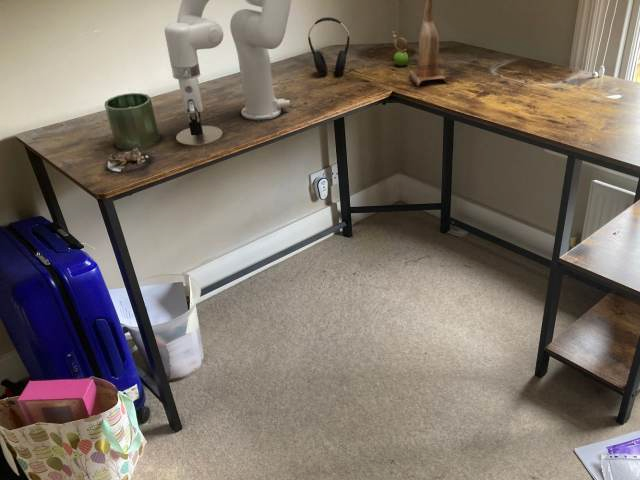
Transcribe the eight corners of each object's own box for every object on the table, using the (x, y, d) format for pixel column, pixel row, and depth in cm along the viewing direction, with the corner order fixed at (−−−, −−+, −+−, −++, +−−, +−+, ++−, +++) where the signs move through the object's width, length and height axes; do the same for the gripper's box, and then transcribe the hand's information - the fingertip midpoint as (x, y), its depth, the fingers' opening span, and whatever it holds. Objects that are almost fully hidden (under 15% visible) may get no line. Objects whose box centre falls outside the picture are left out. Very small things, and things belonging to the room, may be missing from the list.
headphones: (351, 77, 235) (348, 20, 223) (310, 78, 235) (305, 21, 223) (351, 70, 242) (348, 13, 230) (311, 71, 242) (307, 14, 230)
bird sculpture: (436, 73, 237) (439, -22, 218) (449, 83, 228) (453, -14, 209) (407, 77, 235) (408, -19, 215) (419, 87, 226) (420, -11, 206)
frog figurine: (121, 176, 175) (117, 163, 173) (98, 163, 182) (94, 151, 179) (157, 162, 182) (154, 149, 180) (135, 150, 188) (131, 138, 186)
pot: (160, 130, 199) (150, 91, 192) (159, 147, 190) (149, 106, 182) (117, 135, 197) (106, 95, 189) (114, 153, 187) (102, 111, 180)
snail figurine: (397, 61, 248) (397, 29, 241) (411, 64, 245) (411, 32, 238) (389, 65, 245) (388, 33, 238) (402, 68, 242) (402, 35, 235)
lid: (221, 126, 201) (218, 107, 198) (224, 144, 191) (221, 124, 187) (176, 132, 199) (172, 113, 195) (177, 150, 188) (172, 130, 184)
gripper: (200, 79, 176) (210, 138, 186) (198, 60, 190) (207, 116, 200) (172, 81, 175) (183, 141, 185) (172, 62, 188) (182, 119, 198)
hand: (196, 128), depth 192 cm, fingers open, 9 cm apart
